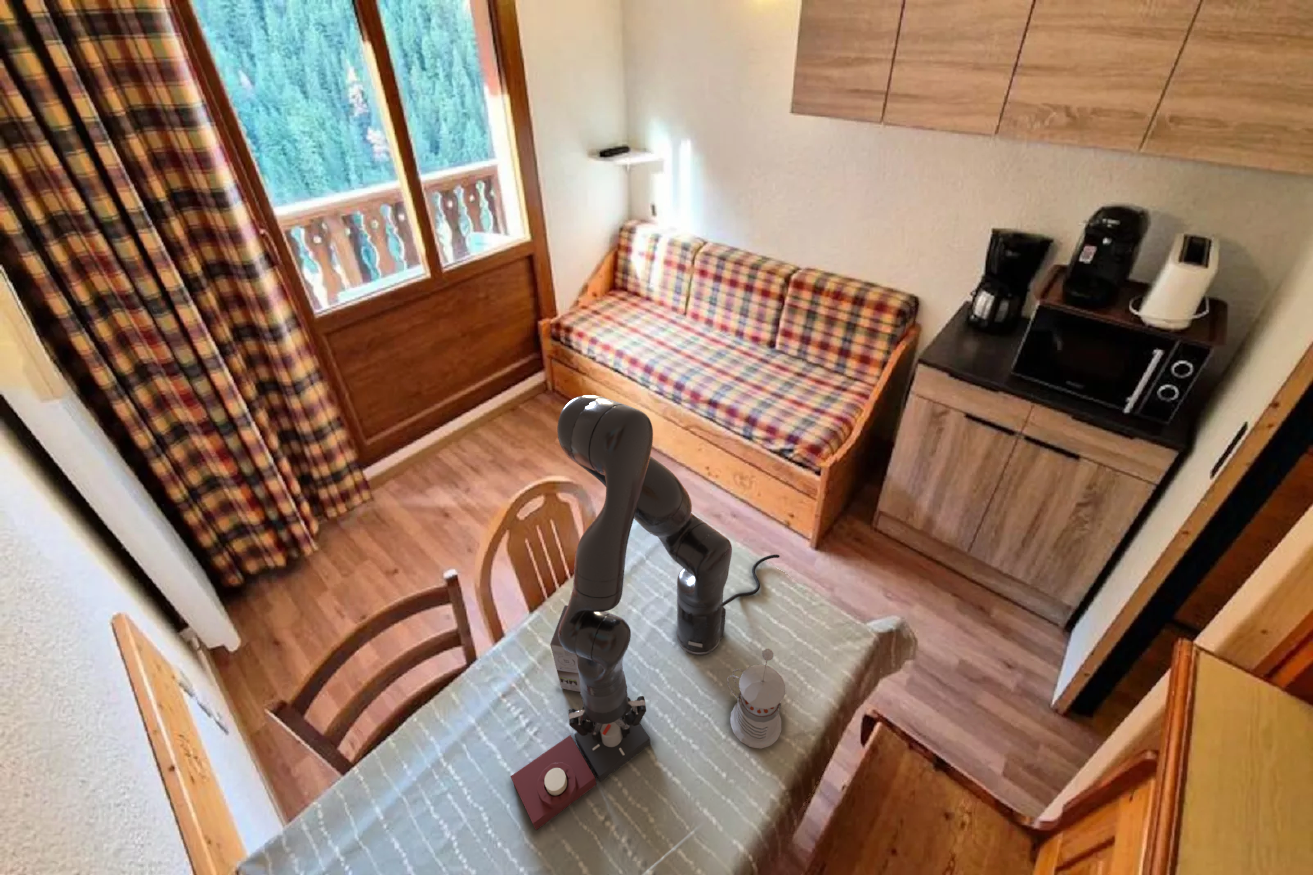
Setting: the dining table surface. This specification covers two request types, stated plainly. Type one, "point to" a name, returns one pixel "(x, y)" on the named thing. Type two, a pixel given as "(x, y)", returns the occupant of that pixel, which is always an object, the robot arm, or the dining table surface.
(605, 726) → the timer knob
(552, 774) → the button
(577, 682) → the coffee box
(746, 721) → the french press
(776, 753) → the dining table surface
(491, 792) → the dining table surface
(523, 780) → the red button box
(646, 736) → the panel
